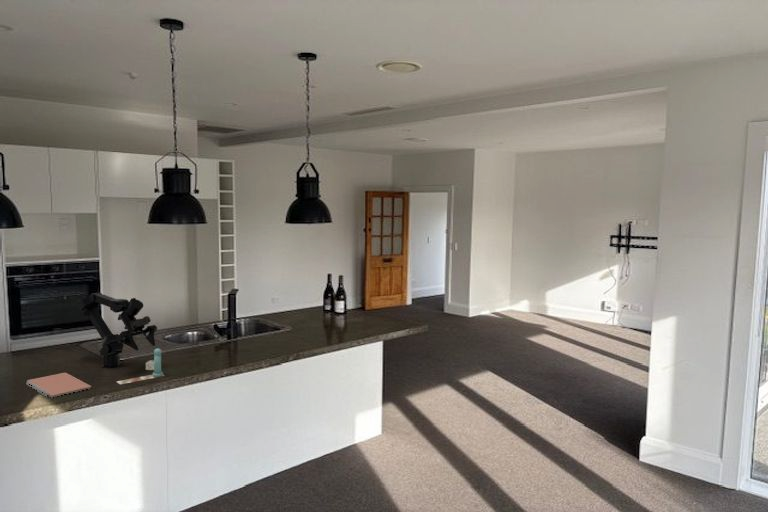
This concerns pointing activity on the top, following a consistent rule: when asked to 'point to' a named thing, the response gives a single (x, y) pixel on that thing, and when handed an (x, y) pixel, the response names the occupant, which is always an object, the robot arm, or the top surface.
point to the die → (150, 365)
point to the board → (136, 379)
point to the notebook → (58, 385)
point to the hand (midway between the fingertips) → (146, 347)
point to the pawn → (157, 363)
